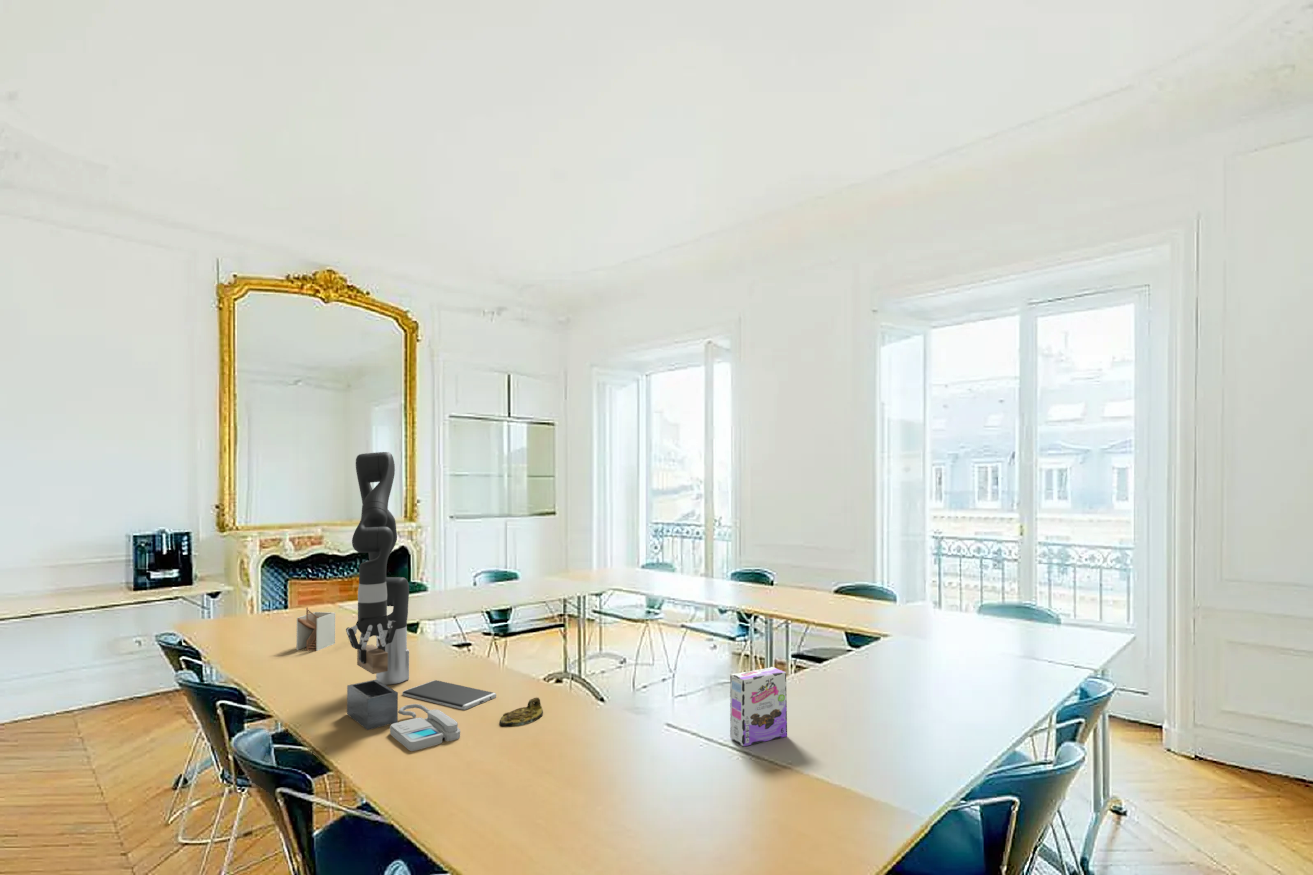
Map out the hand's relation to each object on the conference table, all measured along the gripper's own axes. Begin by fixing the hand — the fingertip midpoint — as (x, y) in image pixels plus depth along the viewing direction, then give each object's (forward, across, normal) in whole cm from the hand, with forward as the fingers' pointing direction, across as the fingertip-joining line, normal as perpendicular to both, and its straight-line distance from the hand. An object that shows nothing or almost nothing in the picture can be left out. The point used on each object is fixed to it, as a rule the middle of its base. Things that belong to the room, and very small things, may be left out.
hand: (372, 661), depth 193 cm
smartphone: (+16, -24, -3) cm, 29 cm away
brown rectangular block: (+2, 0, 0) cm, 2 cm away
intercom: (+16, -6, +17) cm, 24 cm away
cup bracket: (+16, 0, 0) cm, 16 cm away
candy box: (+16, -67, +82) cm, 107 cm away
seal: (+16, -31, +28) cm, 45 cm away
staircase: (+16, -12, -93) cm, 96 cm away
